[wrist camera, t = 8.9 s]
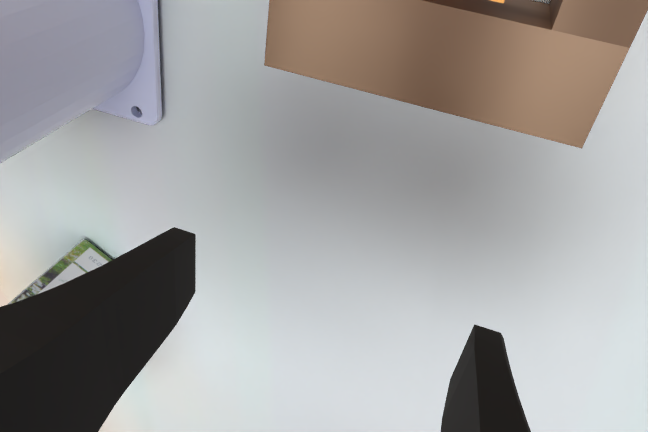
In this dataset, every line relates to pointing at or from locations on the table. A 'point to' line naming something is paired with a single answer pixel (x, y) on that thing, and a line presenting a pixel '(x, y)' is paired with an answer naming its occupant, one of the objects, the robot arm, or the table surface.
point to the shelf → (465, 55)
